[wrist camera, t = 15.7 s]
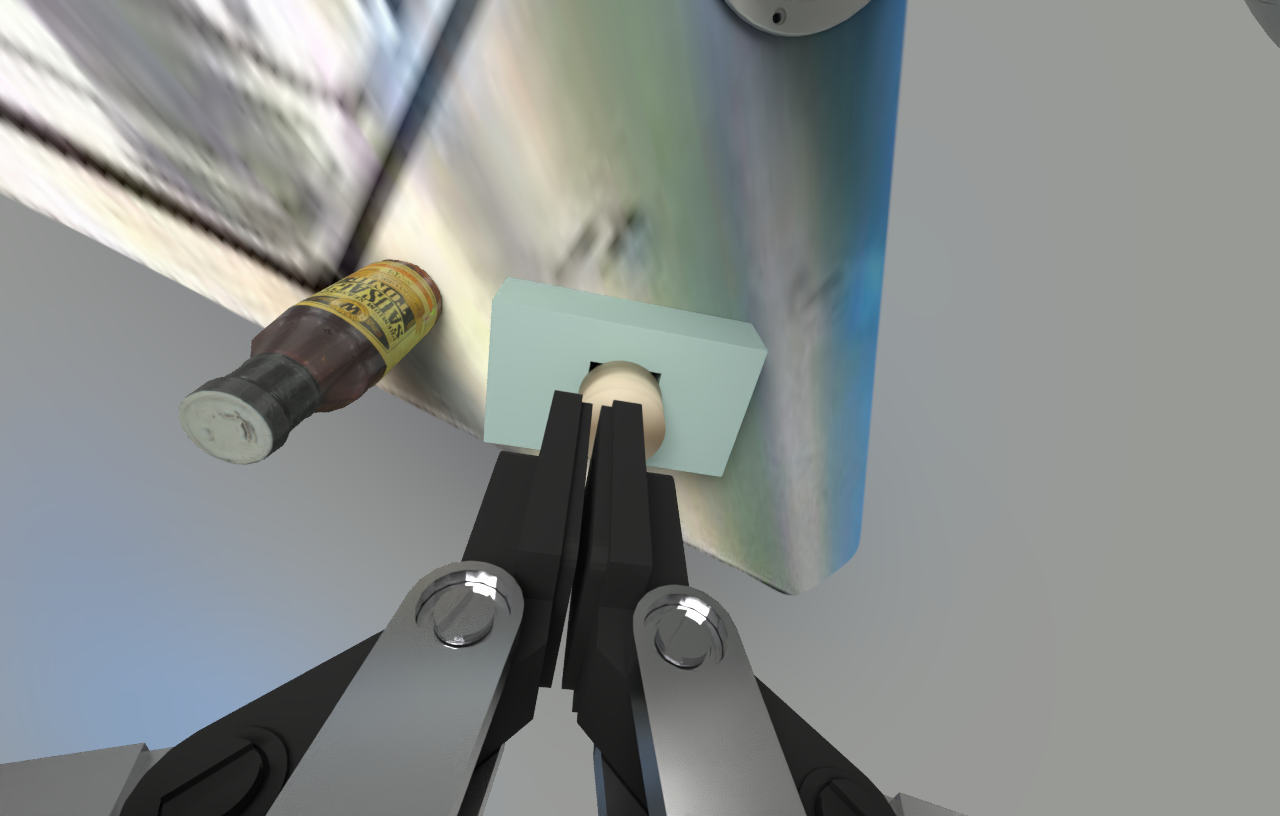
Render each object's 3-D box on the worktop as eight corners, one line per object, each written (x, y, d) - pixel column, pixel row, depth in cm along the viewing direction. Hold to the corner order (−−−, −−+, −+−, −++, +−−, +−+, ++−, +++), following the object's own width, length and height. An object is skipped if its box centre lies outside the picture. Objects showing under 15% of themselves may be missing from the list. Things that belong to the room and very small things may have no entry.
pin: (588, 327, 41) (580, 382, 33) (664, 341, 42) (675, 398, 34) (577, 394, 44) (567, 460, 36) (648, 406, 45) (654, 472, 37)
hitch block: (507, 276, 39) (492, 299, 34) (751, 323, 42) (768, 351, 37) (498, 406, 45) (483, 441, 40) (711, 440, 48) (721, 477, 43)
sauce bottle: (458, 285, 39) (333, 421, 22) (425, 345, 42) (291, 509, 25) (376, 235, 37) (170, 343, 20) (347, 302, 40) (142, 448, 23)
